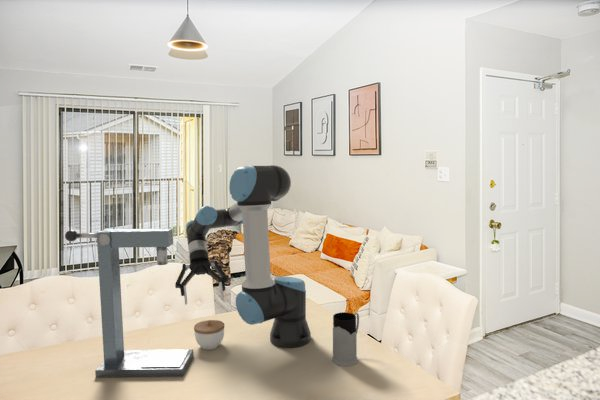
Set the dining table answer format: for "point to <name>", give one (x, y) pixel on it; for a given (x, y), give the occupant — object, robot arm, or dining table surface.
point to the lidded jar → (209, 333)
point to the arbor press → (111, 306)
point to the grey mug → (345, 339)
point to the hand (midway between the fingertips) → (204, 300)
